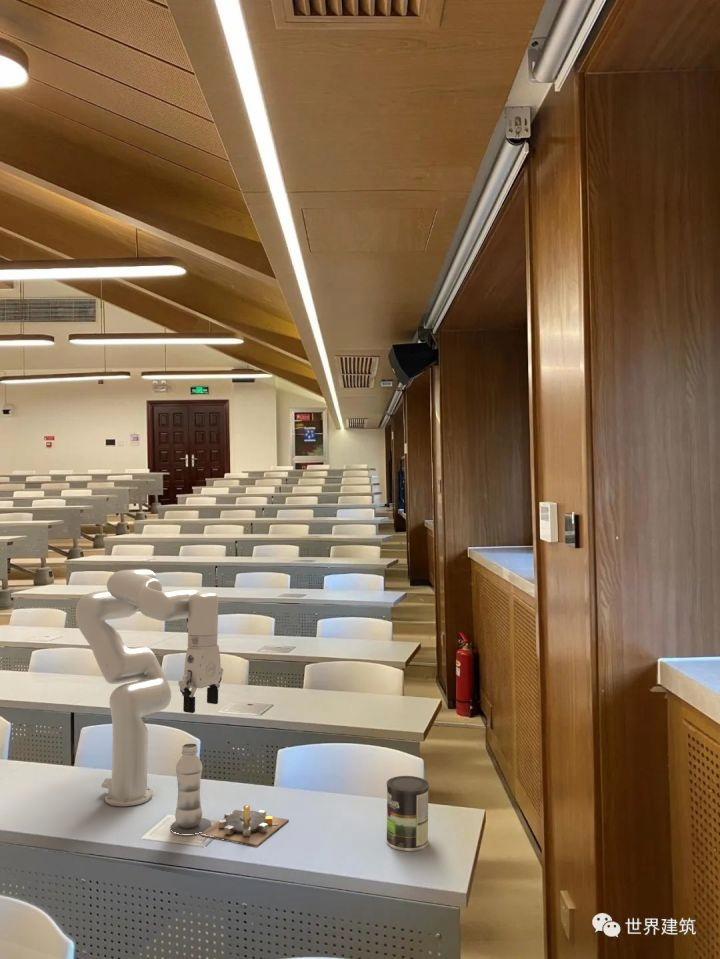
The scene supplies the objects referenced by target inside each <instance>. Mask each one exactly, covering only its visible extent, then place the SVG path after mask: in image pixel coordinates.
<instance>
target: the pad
mask: <svg viewBox="0 0 720 959" xmlns="http://www.w3.org/2000/svg"><path fill="white" fill-rule="evenodd" d="M211 826H212V822H211V820H209V819H207V818H205V817H202V819H201V822H200V824H199V825H198V826H196V827H193V828H181V827H179V826H178V825H177V823H176V820H175V821H174V822H172V823H171V825H170V828H171V829H170V831H171V830H172V831H173V832H176V833H179V834H195V833H199V832H203V831H205V830H206V829H208V828H209V827H211Z"/></svg>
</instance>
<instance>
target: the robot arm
mask: <svg viewBox="0 0 720 959" xmlns="http://www.w3.org/2000/svg"><path fill="white" fill-rule="evenodd" d="M106 589H107V590H100V591H93V592H89V593H86V594H85V595H83V596H81V598H79V599H78V601H77V604H76V606H75V619H76V624H77V627H78V628H79V631H80V633H81V634H82V636H83V637H84V639H85V641H87V643H88V645H89V646H90V649H91V651H92V653H93V656H94V658H95V660H96V663H97V666H98V668H99V670H100V672H101V674H102V677H103V678H104V680H105V681H106V683H108V684H110V685H119V686H118V687H116V688H115V689H113V690H112V692H111V694H110V695H109V710H110V715H111V723H112V744H111V745H112V750H111V754H112V755H111V761H112V762H111V777H105V779H104V781H103V782H102V784H101V787H102V788H104V789H107V791H108V792H107V793H106V795H105V796H104V797H105V798H104V800H105V803H107V804H108V805H110V806H112V807H113V806H114V807H131V806H138V805H141V804H143V803H146V802H148V801H150V800H151V799H152V798H153V795H154V794H153V790H152V788H150V787H148V766H149V763H148V762H149V761H148V760H149V731H148V727H147V725H146V724H145V722H144V721H143V719H142V718H143V716H147V715H150V714H153V713H158V712H161V711H163V710H165V709H167V708H168V706H169V705H170V703H171V701H172V690H171V686H170V684H169V682H168V679H167V677H166V675H165V673H164V671H163V669H162V666H161V664H160V663H159V660H158V658H157V656H156V655H155V653H154V652H153V651H152V650H151V649H150V648H149V647H146V646H133V647H132V646H131V647H127V646H126V645H125V643H124V642H123V640H122V636H121V635H120V633H119V632H118V631H117V630H116V629H115V628H114V627H113V626H112V625H110V624H108V623H107V622H106V621H107V620H115V619H116V620H117V619H121V618H122V619H124V618H129V617H131V616H133V615H136V613H137V612H139V611H140V613H141V614H142V615H143V616H145V617H148V618H150V619H153V620H156V621H161V622H169V621H175V620H182V619H183V620H185V619H188V620H187V624H188V625H187V649H186V653H185V661H184V672H183V676H182V677H181V678H180V679H179V680H178V684H177V685H178V686H179V691H180V693H181V697H183V703H182V704H183V705H182V706H183V712H184V713H189V714H194V713H195V712H196V696H195V693H196V692H197V689H203V688H207V689H206V703H207V704H210V705H211V704H212V705H218V703H219V689H220V688H221V684H220V683H221V681H222V679H223V677H222V676H223V673H224V669H223V668H222V667H221V665H222V664H221V654H220V646H219V644H218V632H219V631H218V630H219V627H218V626H219V620H218V619H219V596H218V594H216V593H214V592H205V591H200V590H198V589H192V588H191V589H178V590H170V591H163V588H162V584H161V582H160V581H159V578H158V577H157V575H156V574H155V572H154V571H152V570H151V569H148V568H137V569H135V568H134V569H123V570H118V571H116V572H114V573H113V574H111V575H110V576H109V578H108V579H107V582H106ZM120 684H121V685H120ZM190 689H191V690H190Z"/></svg>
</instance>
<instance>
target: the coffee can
mask: <svg viewBox="0 0 720 959" xmlns="http://www.w3.org/2000/svg"><path fill="white" fill-rule="evenodd" d="M429 788H430V783H429V782H428V780H426V779H424V778H422V777H418V776H413V775H399V776H394V777H391V778H389V779H388V780H387V781H386V840H385V843H386V844H387V845H388V846H389V847H391V849H394V850H396V851H402V852H417V851H420V850H423V849H425V848H426V847H428V845H429V838H428V837H429Z"/></svg>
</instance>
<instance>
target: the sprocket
mask: <svg viewBox="0 0 720 959" xmlns="http://www.w3.org/2000/svg"><path fill="white" fill-rule="evenodd" d="M232 812H233V811H232ZM232 812H230V811H228V812H226V813H224V817H223V818H224V819H223V818H219V820H218V821H219V828H225V832H224V833H226V834H229V835H230V834H232V833H240V834H243V836H250V833H253V832H257V831H260V832H265V831H267V830H268V825H270V824H272V817H273V816H272V815H267V811H266V810H262V809H259V810H258V811H257V810H251V805H249V804H245V805H243V807H242V808H241V810H240V812H235V813H232ZM266 815H267V816H266Z"/></svg>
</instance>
